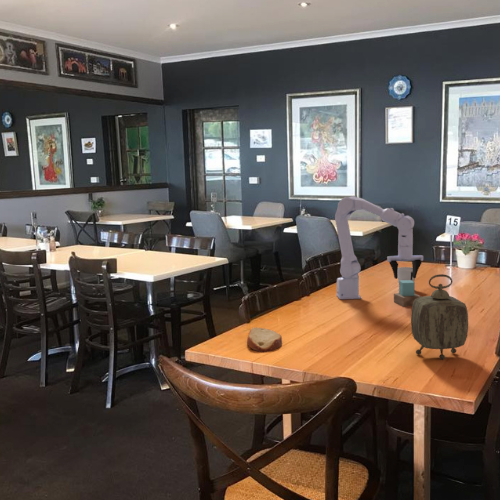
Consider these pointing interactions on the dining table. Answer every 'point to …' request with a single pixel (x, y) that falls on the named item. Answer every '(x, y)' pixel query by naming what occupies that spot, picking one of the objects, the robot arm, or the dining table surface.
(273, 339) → the slice of bread
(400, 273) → the cup
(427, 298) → the tabletop clock
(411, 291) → the teal block
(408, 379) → the dining table surface
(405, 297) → the brown block
